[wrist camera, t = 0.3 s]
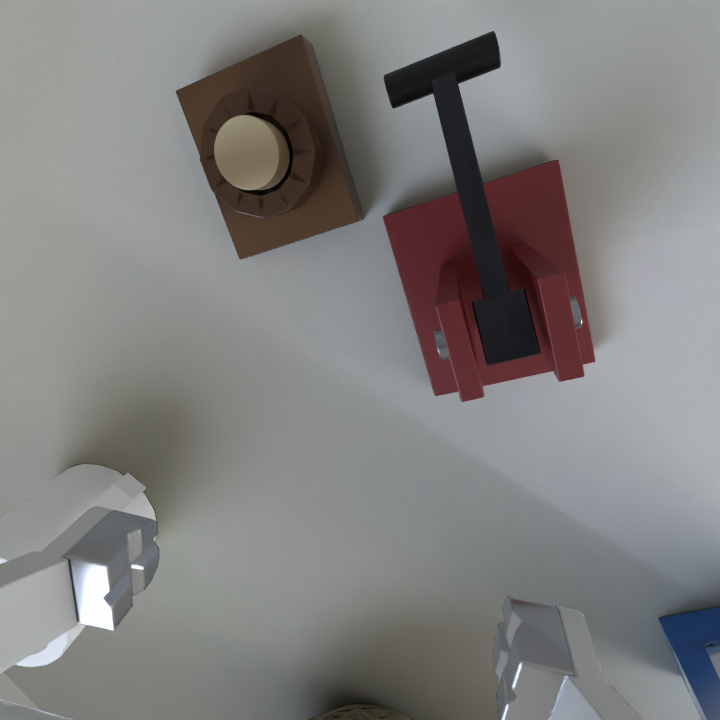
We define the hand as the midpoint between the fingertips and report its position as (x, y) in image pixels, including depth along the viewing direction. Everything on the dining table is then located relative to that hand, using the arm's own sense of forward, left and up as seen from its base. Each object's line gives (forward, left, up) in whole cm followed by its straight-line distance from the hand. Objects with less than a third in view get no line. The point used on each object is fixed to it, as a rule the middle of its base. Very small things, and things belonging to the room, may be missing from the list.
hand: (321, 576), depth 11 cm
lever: (-8, +3, -16) cm, 18 cm away
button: (-9, -9, -19) cm, 23 cm away
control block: (-9, -9, -23) cm, 26 cm away
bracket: (-3, +5, -23) cm, 23 cm away
